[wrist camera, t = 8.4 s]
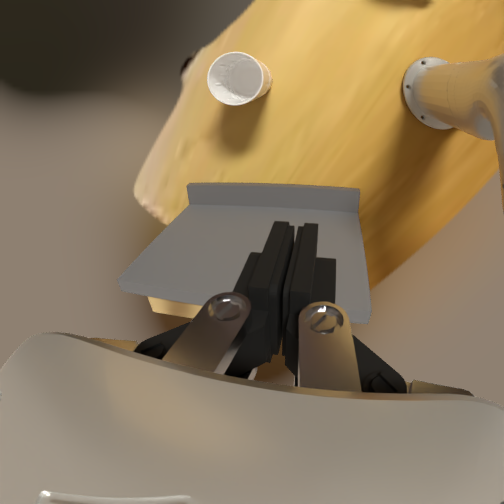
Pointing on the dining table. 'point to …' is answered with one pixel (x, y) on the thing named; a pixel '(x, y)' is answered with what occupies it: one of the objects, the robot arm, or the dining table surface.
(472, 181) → the dining table surface
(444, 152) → the dining table surface
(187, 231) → the board
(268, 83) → the white cup
